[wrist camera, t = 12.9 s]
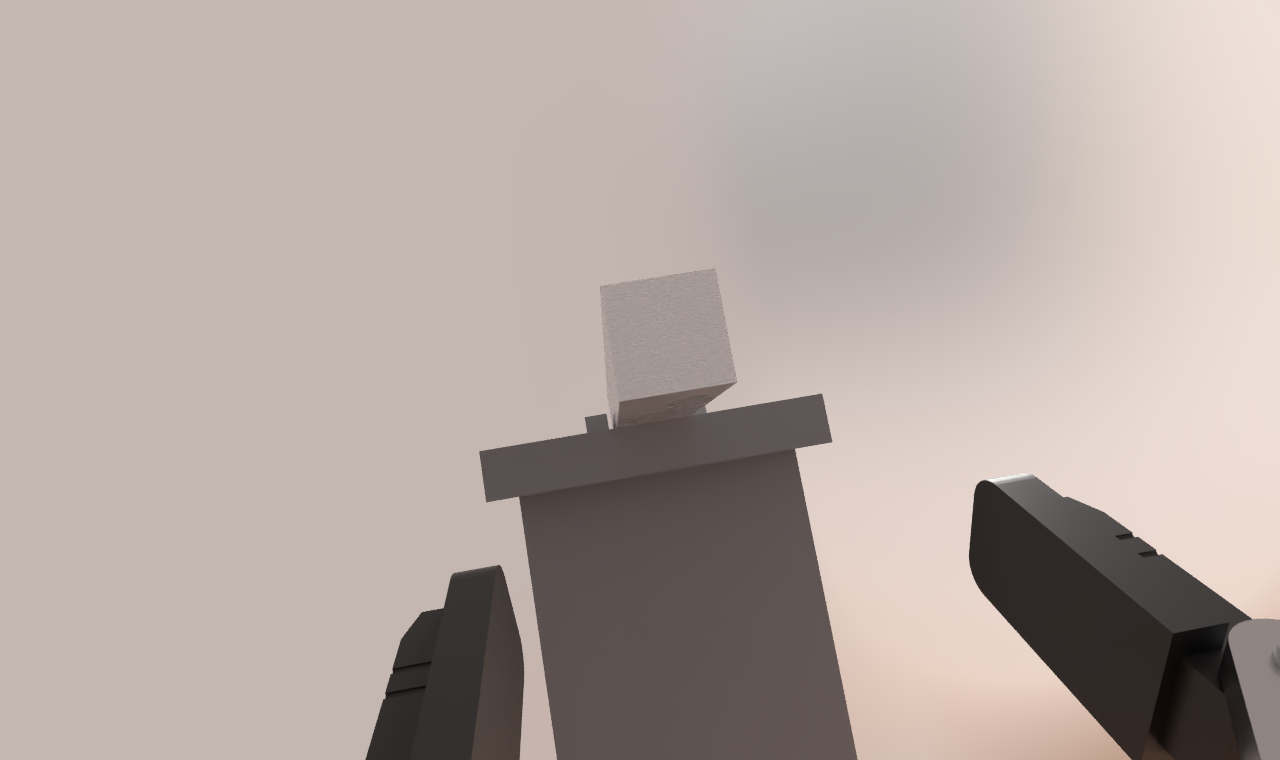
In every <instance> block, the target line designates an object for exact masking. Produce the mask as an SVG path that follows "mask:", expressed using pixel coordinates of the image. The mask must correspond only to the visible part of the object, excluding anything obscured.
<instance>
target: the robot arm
mask: <svg viewBox="0 0 1280 760" xmlns="http://www.w3.org/2000/svg"><path fill="white" fill-rule="evenodd" d="M969 561H970V568H971V571H972V574H973V577H974V579H975V582H976V584H977V585H978V587H979V589H980V590H981V592H982V593H983V594H984V595H985V596H986V597H987V599H988V600H989V601H990V602H991V603H992V604H993V605H994V607H995V608H996V609H997V610H998V611H999V612H1000V613H1001V614H1002V616H1003V617H1004V618H1005V619H1006V620H1007V621H1008V622H1009V623H1010V624H1011V626H1012V627H1013V628H1014V629H1015V630H1016V631H1017V632H1018V633H1019V634H1020V636H1021V637H1022V638H1023V639H1024V640H1025V641H1026V642H1027V643H1028V644H1029V646H1030V647H1031V648H1032V649H1033V650H1034V651H1035V652H1036V653H1037V654H1038V656H1039V657H1040V658H1041V659H1042V660H1043V661H1044V662H1045V663H1046V665H1047V666H1049V668H1050V669H1051V670H1052V671H1053V672H1054V674H1055V675H1057V677H1058V678H1059V679H1060V680H1061V681H1062V682H1063V683H1064V685H1065V686H1066V687H1067V688H1068V689H1069V690H1070V691H1071V692H1072V694H1073V695H1074V696H1075V697H1076V698H1077V699H1078V700H1079V701H1080V703H1081V704H1082V705H1083V706H1084V707H1085V708H1086V709H1087V710H1088V711H1089V713H1090V714H1091V715H1092V716H1093V717H1094V718H1095V719H1096V720H1097V721H1098V723H1099V724H1100V725H1101V726H1102V727H1103V728H1104V729H1105V730H1106V731H1107V733H1108V734H1109V735H1110V736H1111V737H1112V738H1113V739H1114V740H1115V742H1116V743H1117V744H1118V745H1119V746H1120V747H1121V748H1122V749H1123V750H1124V752H1125V753H1126V754H1127V755H1128V756H1129V757H1130V758H1131V759H1132V760H1280V620H1275V619H1251V618H1250V617H1249V616H1247V615H1246V614H1244V613H1243V612H1242V611H1240V610H1239V609H1237V608H1236V607H1235V606H1233V605H1232V604H1230V603H1229V602H1228V601H1226V600H1225V599H1224V598H1222V597H1221V596H1219V595H1218V594H1217V593H1215V592H1214V591H1213V590H1211V589H1210V588H1208V587H1207V586H1206V585H1204V584H1203V583H1201V582H1200V581H1199V580H1197V579H1196V578H1194V577H1193V576H1192V575H1190V574H1189V573H1188V572H1186V571H1185V570H1183V569H1182V568H1180V567H1179V566H1178V565H1176V564H1175V563H1174V562H1172V561H1171V560H1170V559H1168V558H1166V557H1165V556H1164V555H1163V554H1162V555H1158V554H1157V552H1156V549H1154V548H1153V547H1151V546H1150V545H1149V544H1147V543H1146V542H1145V541H1143V540H1142V539H1140V538H1139V537H1133V535H1132V532H1131V531H1129V530H1128V529H1126V528H1125V527H1124V526H1122V525H1121V524H1120V523H1118V522H1117V521H1115V520H1114V519H1113V518H1111V517H1109V516H1108V515H1107V514H1106V513H1104V512H1102V511H1100V510H1098V509H1095V508H1092V507H1090V506H1088V505H1086V504H1083V503H1081V502H1079V501H1076V500H1074V499H1072V498H1069V497H1064V498H1063V497H1062V496H1061V495H1059V494H1058V493H1057V492H1055V491H1054V490H1053V489H1051V488H1050V487H1049V486H1047V485H1046V484H1045V483H1043V482H1042V481H1041V480H1039V479H1038V478H1037V477H1035V476H1033V475H1031V474H1029V473H1023V474H1016V475H1011V476H1005V477H1000V478H995V479H988V480H983V481H981V482H979V483H978V484H977V486H976V489H975V493H974V503H973V514H972V526H971V537H970V550H969ZM523 688H524V662H523V653H522V645H521V639H520V635H519V631H518V627H517V623H516V619H515V615H514V612H513V607H512V604H511V600H510V596H509V592H508V588H507V584H506V580H505V576H504V573H503V570H502V568H501V566H500V565H497V566H491V567H486V568H481V569H475V570H469V571H464V572H458V573H454V574H453V575H452V577H451V579H450V584H449V588H448V592H447V597H446V601H445V605H444V608H443V609H437V610H431V611H426V612H422V613H421V614H420V615H419V617H418V618H417V619H416V621H415V622H414V623H413V624H412V626H411V627H410V628H409V630H408V631H407V632H406V634H405V635H404V637H403V638H402V639H401V642H400V645H399V648H398V652H397V655H396V658H395V662H394V665H393V674H391V675H390V679H389V682H388V686H387V689H386V693H385V694H386V699H384V700H383V703H382V706H381V709H380V713H379V716H378V720H377V723H376V726H375V729H374V733H373V736H372V740H371V743H370V746H369V750H368V753H367V757H366V760H519V759H520V740H521V723H522V705H523Z"/></svg>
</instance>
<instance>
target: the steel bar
mask: <svg viewBox="0 0 1280 760" xmlns="http://www.w3.org/2000/svg"><path fill="white" fill-rule="evenodd" d="M600 293H601V307H602V321H603V337H604V352H605V367H606V381H607V397H608V403H609V409H610V415H611V421H612V427H613V429H616V428H622V427H628V426H633V425H639V424H645V423H651V422H657V421H663V420H669V419H675V418H681V417H687V416H691V415H692V414H694V413H695V412H696V411H698V410H699V409H701V408H702V407H703V406H705V405H706V404H707V403H709V402H710V401H712V400H713V399H714V398H716V397H717V396H719V395H720V394H721V393H723V392H724V391H725V390H727V389H728V388H730V387H731V386H732V385H734V384H735V383H737V379H736V374H735V369H734V364H733V358H732V353H731V348H730V344H729V338H728V332H727V328H726V322H725V317H724V312H723V306H722V301H721V297H720V291H719V286H718V281H717V275H716V270H715V269H708V270H701V271H695V272H689V273H682V274H676V275H669V276H663V277H657V278H650V279H643V280H637V281H631V282H624V283H617V284H611V285H604V286H600Z"/></svg>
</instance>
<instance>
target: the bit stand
mask: <svg viewBox="0 0 1280 760" xmlns="http://www.w3.org/2000/svg"><path fill="white" fill-rule="evenodd" d="M585 421H586V427H587V433H586V434H580V435H574V436H568V437H563V438H556V439H550V440H544V441H538V442H533V443H527V444H521V445H515V446H509V447H503V448H497V449H491V450H485V451H480V459H481V466H482V474H483V481H484V489H485V495H486V502H490V501H496V500H502V499H508V498H513V497H518V496H519V498H520V505H521V512H522V519H523V525H524V533H525V540H526V547H527V554H528V561H529V568H530V575H531V581H532V587H533V595H534V602H535V608H536V616H537V623H538V630H539V637H540V644H541V651H542V657H543V664H544V671H545V678H546V685H547V692H548V699H549V706H550V713H551V720H552V727H553V734H554V741H555V747H556V754H557V760H857V755H856V750H855V745H854V740H853V735H852V730H851V725H850V720H849V716H848V711H847V705H846V701H845V695H844V690H843V685H842V680H841V675H840V670H839V665H838V660H837V655H836V651H835V646H834V641H833V636H832V631H831V626H830V621H829V616H828V611H827V606H826V601H825V596H824V592H823V586H822V582H821V576H820V571H819V566H818V561H817V556H816V551H815V546H814V541H813V536H812V532H811V527H810V522H809V517H808V512H807V507H806V502H805V497H804V492H803V487H802V482H801V478H800V472H799V467H798V462H797V457H796V452H795V448H801V447H806V446H813V445H818V444H824V443H829V442H832V438H831V434H830V429H829V424H828V420H827V415H826V410H825V405H824V400H823V396H822V394H817V395H811V396H805V397H800V398H794V399H788V400H782V401H776V402H770V403H764V404H758V405H752V406H746V407H741V408H735V409H729V410H722V411H717V412H711V413H706V408H705V406H703V407H702V408H701V409H699V410H698V411H696V412H695V413H694V414H692V415H691V416H687V417H681V418H675V419H669V420H663V421H657V422H651V423H645V424H639V425H633V426H628V427H622V428H616V429H610V430H609V427H608V421H607V415H606V414H602V415H596V416H590V417H585Z"/></svg>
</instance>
